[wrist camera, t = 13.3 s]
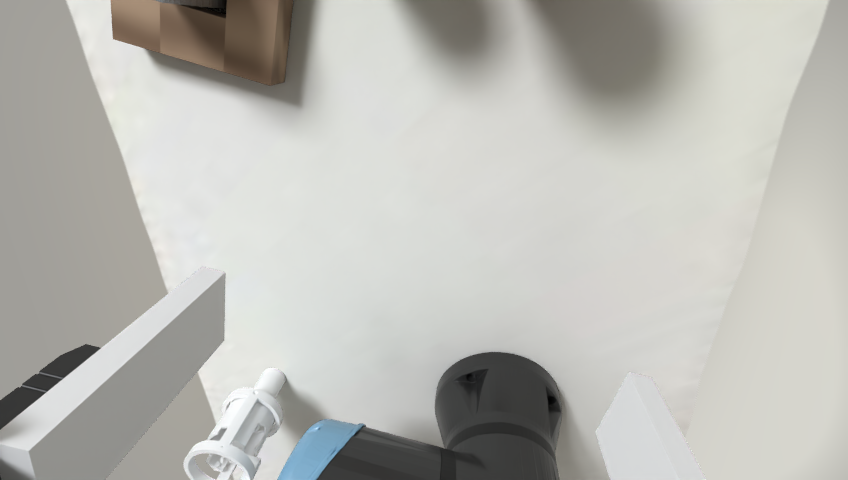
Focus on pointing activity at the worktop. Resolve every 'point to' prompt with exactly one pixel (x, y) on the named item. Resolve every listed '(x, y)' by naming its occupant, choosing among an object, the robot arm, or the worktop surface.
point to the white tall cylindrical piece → (241, 430)
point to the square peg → (198, 3)
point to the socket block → (212, 34)
